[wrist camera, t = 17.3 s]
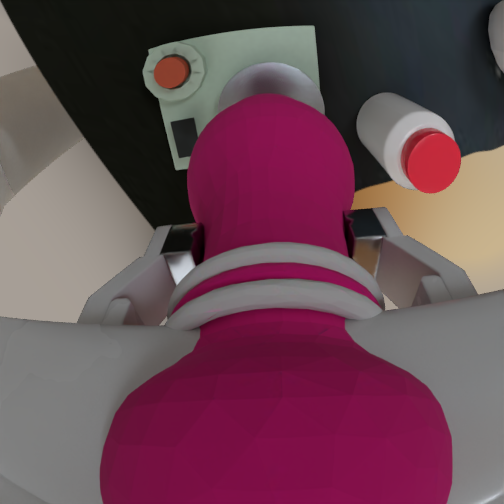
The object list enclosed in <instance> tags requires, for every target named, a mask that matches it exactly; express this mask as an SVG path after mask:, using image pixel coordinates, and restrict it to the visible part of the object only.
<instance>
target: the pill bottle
mask: <svg viewBox="0 0 504 504" xmlns="http://www.w3.org/2000/svg"><path fill="white" fill-rule="evenodd" d="M356 125H357V133H358V136H359V138H360V140H361V142H362V144H363V145H364V146H365V148H366V149H367V150H368V151H369V152H370V153H371V154H372V156H373V157H374V158H375V159H376V160H377V161H378V163H379V164H380V165H381V166H382V167H383V169H384V170H385V171H386V172H387V173H388V175H389V176H390V177H391V178H392V179H393V180H394V181H395V182H396V183H397V184H399V185H400V186H402V187H404V188H407V189H411V190H420V191H422V192H424V193H437V192H440V191H442V190H444V189H446V188H447V187H448V186H449V185H450V184H451V183H452V182H453V181H454V179H455V178H456V176H457V174H458V172H459V168H460V164H461V154H460V150H459V148H458V145H457V144H456V142H455V139H454V135H453V132H452V130H451V128H450V127H449V125H448V124H447V123H446V121H445V120H444V119H442V118H441V117H440V116H439V115H437V114H435V113H433V112H431V111H430V110H428V109H426V108H424V107H422V106H420V105H418V104H416V103H414V102H412V101H410V100H408V99H406V98H404V97H402V96H400V95H398V94H394V93H380V94H377V95H375V96H373V97H371V98H370V99H368V100H367V101H366V102H365V103H364V104H363V106H362V107H361V109H360V111H359V114H358V117H357V123H356Z"/></svg>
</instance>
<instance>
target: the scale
mask: <svg viewBox="0 0 504 504" xmlns="http://www.w3.org/2000/svg"><path fill="white" fill-rule="evenodd" d="M169 57H179V58H182V59H183V60H184V61H185V62H186V63H187V64H188V67H189V74H188V77H187V79H186V80H185V81H184V82H183V83H181V84H180V85H178V86H176V87H173V88H164V87H162V86H160V85H159V84H158V83H157V82H156V81H155V79H154V69H155V67H156V65H157V64H158V63H159V62H160V61H161V60H163V59H165V58H169ZM262 62H279V63H284V64H288V65H290V66H293V67H295V68H297V69H299V70H301V71H302V72H304V73H305V74H306V75H307V76H308V77H310V78H311V79H312V81H313V82H314V83H315V84H316V86H317V87H318V89H319V91H320V87H319V72H318V60H317V49H316V39H315V29H314V26H285V27H269V28H258V29H248V30H240V31H232V32H226V33H219V34H213V35H208V36H202V37H197V38H192V39H188V40H183V41H179V42H172V43H168V44H164V45H161V46H159V47H155V48H152V49H149V56H148V57H147V60H146V63H145V66H144V69H143V76H144V80H145V85H146V87H147V88H148V89H149V90H150V91H151V92H152V93H153V94H154V95H155V96H156V97H157V98H159V103H160V107H161V112H162V116H163V120H164V125H165V129H166V133H167V137H168V141H169V145H170V149H171V153H172V157H173V161H174V165H175V169H176V170H180V169H187V168H188V166H189V161H190V157H191V156H190V157H184V158H179V157H178V153H177V148H176V144H175V140H174V136H173V132H172V127H171V123H170V122H172V121H177V120H182V119H187V118H193V117H194V119H195V124H196V129H197V134H198V137H199V135H200V133H201V132H202V131H203V129H204V128H205V126H206V125H207V124H208V123H209V122H210V121H211V120H212V119H213V118H214V117H215V116H216V115H217V110H218V102H219V98H220V95H221V92H222V90H223V88H224V87H225V85H226V84H227V82H228V81H229V80H230V79H231V78H232V77H233V76H234V75H235V74H236V73H238V72H239V71H241V70H242V69H244V68H246V67H248V66H250V65H254V64H257V63H262Z"/></svg>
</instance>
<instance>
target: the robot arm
mask: <svg viewBox="0 0 504 504" xmlns="http://www.w3.org/2000/svg"><path fill="white" fill-rule="evenodd" d="M343 217H344V226H345V240H346V245H347V250H348V256H349V258H351V259H353V260H354V261H355V262H357V263H358V264H359V265H360V266H362V267H363V268H364V269H366V270H367V271H368V272H369V273H370V274H371V275H372V276H373V278H374V279H375V280H376V282H377V283H378V285H379V287H380V290H381V292H382V293H383V294H385V295H386V296H387V297H388V298H389V299H390V300H391V301H392V302H393V303H394V304H395V305H396V306H397V307H398V308H399V309H393V310H387V311H382V312H381V313H379V314H377V315H376V316H374V317H372V318H369V319H365V320H355V319H348V318H346V319H345V330H346V331H347V332H348V334H349V335H350V336H351V337H352V339H353V340H354V341H355V342H356V343H357V344H359V345H360V346H361V347H362V348H364V349H365V350H366V351H368V352H369V353H371V354H373V355H375V356H377V357H380V358H382V359H384V360H386V361H388V362H390V363H392V364H394V365H396V366H398V367H400V368H402V369H404V370H406V371H408V372H409V373H411V374H412V375H413V376H415V377H416V378H417V379H419V380H420V381H421V382H422V383H424V384H425V385H426V386H427V387H428V388H429V389H430V390H431V392H432V393H433V395H434V396H435V397H436V399H437V400H438V402H439V403H440V405H441V407H442V409H443V412H444V415H445V418H446V421H447V424H448V427H449V430H450V433H451V436H452V457H453V472H452V486H451V490H450V494H449V497H448V501H447V504H504V289H503V290H498V291H494V292H489V293H484V294H480V295H478V294H477V292H476V290H475V288H474V286H473V285H472V283H471V281H470V279H469V278H468V276H467V274H466V273H465V271H464V270H463V269H462V268H460V267H459V266H457V265H455V264H454V263H452V262H451V261H449V260H448V259H446V258H444V257H443V256H441V255H440V254H438V253H436V252H435V251H433V250H431V249H430V248H428V247H426V246H425V245H423V244H421V243H420V242H418V241H416V240H415V239H413V238H411V237H409V236H408V235H407V236H403V234H402V232H401V231H400V229H399V227H398V226H397V224H396V222H395V221H394V219H393V217H392V216H391V214H390V213H389V211H388V210H387V208H385V207H380V208H371V209H358V210H347V211H343ZM204 254H205V250H204V226H203V224H202V223H201V222H199V223H188V224H177V225H166V226H159V227H157V228H156V230H155V233H154V235H153V237H152V239H151V241H150V243H149V246H148V248H147V250H146V252H145V255H144V257H139V258H138V259H136V260H135V261H134V262H132V263H131V264H130V265H129V266H128V267H126V268H125V269H124V270H122V271H121V272H120V273H119V274H117V275H116V276H115V277H113V278H112V279H111V280H110V281H108V282H107V283H106V284H105V285H103V286H102V287H101V288H100V289H98V290H97V291H96V292H95V293H94V294H92V295H91V296H90V297H89V298H88V300H87V302H86V304H85V306H84V308H83V310H82V313H81V315H80V317H79V319H78V321H77V323H65V322H64V323H63V322H50V321H38V320H27V319H17V318H7V317H0V504H103V501H102V497H101V493H100V464H101V458H102V452H103V447H104V444H105V441H106V438H107V435H108V432H109V429H110V426H111V424H112V421H113V418H114V415H115V413H116V411H117V410H118V408H119V407H120V406H121V404H122V403H123V401H124V400H125V398H126V397H127V396H128V395H129V394H130V393H131V392H133V391H134V390H135V389H136V388H138V387H139V386H140V385H142V384H143V383H145V382H146V381H147V380H149V379H150V378H151V377H153V376H154V375H156V374H158V373H160V372H161V371H163V370H165V369H166V368H168V367H170V366H172V365H173V364H175V363H176V362H178V361H179V360H180V359H181V358H182V357H183V356H185V355H187V354H189V353H190V352H192V351H193V349H194V347H195V345H196V343H197V341H198V340H199V338H200V327H197V328H194V329H192V330H188V331H180V330H174V329H172V328H170V327H167V326H159V324H160V323H161V322H162V321H163V320H164V319H165V317H166V316H167V312H168V305H169V301H170V298H171V296H172V293H173V291H174V289H175V287H176V286H177V285H178V283H179V282H180V281H181V280H182V279H183V278H184V277H185V276H186V275H187V274H188V273H189V272H190V271H191V270H192V269H193V268H195V267H196V266H198V265H200V264H201V263H203V261H204Z"/></svg>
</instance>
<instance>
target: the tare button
mask: <svg viewBox="0 0 504 504" xmlns="http://www.w3.org/2000/svg"><path fill="white" fill-rule="evenodd" d="M188 74H189V67H188V64H187V63H186V62H185V61H184V60H183V59H182V58H179V57H169V58H165V59H163V60H161V61H160V62H159V63H158V64H157V65H156V67H155V69H154V79H155V81H156V82H157V83H158V84H159V85H160V86H162V87H164V88H173V87H176V86H178V85H180V84H181V83H183V82H184V81H185V80H186V79H187V77H188Z"/></svg>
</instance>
